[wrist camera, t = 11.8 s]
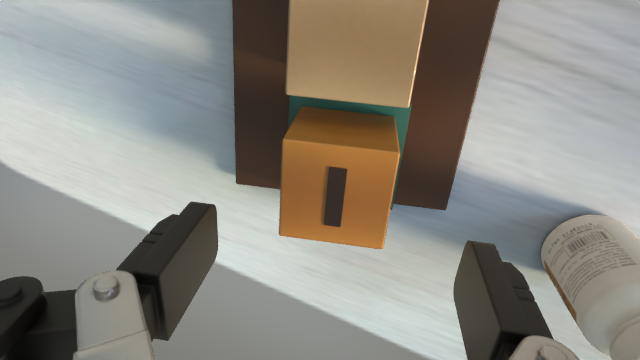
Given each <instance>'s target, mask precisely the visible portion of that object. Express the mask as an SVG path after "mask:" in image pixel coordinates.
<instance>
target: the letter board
mask: <svg viewBox="0 0 640 360" xmlns="http://www.w3.org/2000/svg"><path fill="white" fill-rule="evenodd" d="M499 1H500V0H232V8H233V57H234V106H235V155H236V183H237V184H243V185H251V186H258V187H266V188H274V189H281V164H282V140H283V138H284V136H285V135H286V133H287V131H288V129H289V128H290V126H291V124H292V122H293V121H294V119H295V117H296V115H297V114H298V112H299V110H300V108H301V107H302V106H304V107H313V108H322V109H331V110H340V111H349V112H358V113H367V114H376V115H385V116H394V117H395V121H396V128H397V135H398V142H399V149H400V158H399V164H398V169H397V175H396V180H395V186H394V191H393V197H392V202H391V208H390V210H392V208H393V204H400V205H408V206H416V207H423V208H431V209H439V210H446V208H447V204H448V200H449V196H450V192H451V188H452V184H453V180H454V176H455V173H456V169H457V165H458V161H459V157H460V153H461V149H462V145H463V141H464V138H465V134H466V130H467V126H468V122H469V118H470V114H471V110H472V106H473V102H474V99H475V95H476V91H477V87H478V83H479V79H480V75H481V71H482V67H483V64H484V60H485V56H486V52H487V48H488V44H489V40H490V36H491V32H492V29H493V25H494V21H495V17H496V13H497V9H498V5H499Z"/></svg>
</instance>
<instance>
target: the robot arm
mask: <svg viewBox="0 0 640 360" xmlns="http://www.w3.org/2000/svg"><path fill="white" fill-rule="evenodd" d="M217 251H218V231H217V212H216V207H215V205H213V204H206V203H199V202H190V203H189V204H188V205H187V206H186V207H185V209H184V210H183V211H182V212H181V213H180V215H175V214H172V215H170V216H169V217H167V218H165V219H163V220H162V221H160V222H158V223H157V225H156V226H155V227H154V228H153V229H152V230H151V231H150V234H148V235H147V236H146V237H145V238H144V239H143V240H142V242H140V243H139V245H138V246H137V247H136V248H135V249H134V250H133V251H132V252H131V253H130V255H129V256H128V257H127V258H126V259H125V260H124V261H123V262H122V263H121V265H120V266H119V267H118V268H117V269H116V270H112V271H106V272H102V273H99V274H96V275H94V276H92V277H90V278H88V279H87V280H85V281H84V282H83V283H82V284H81V285H80V286H79V287H78V289H76V290H66V291H55V292H44V290H43V286H42V284H41V282H40V281H39V280H38V279H36V278H33V277H27V276H26V277H25V276H22V277H14V278H9V279H6V280H3V281H0V360H156V359H155V355H154V351H153V347H152V341H153V339H160V340H166V341H168V340H169V338H170V337H171V335H172V333H173V332H174V330H175V328H176V326H177V324H178V323H179V321H180V320H181V318H182V316H183V315H184V313H185V311H186V309H187V308H188V306H189V304H190V303H191V301H192V299H193V297H194V296H195V294H196V292H197V291H198V289H199V287H200V285H201V284H202V282H203V280H204V278H205V277H206V275H207V273H208V272H209V270H210V268H211V266H212V265H213V263H214V261H215V258H216V255H217ZM534 300H535V299H534V297H533V295H532V293H531V291H529V286H528V284H527V282H526V280H525V278H524V276H523V274H522V273H521V272H520V271H519V270H518V269H517V268H516V267H514V266H513V265H512V264H511V263H509V262H502V260H501V258H500V255H499V253H498V251H497V248H496V246H495V245H494V244H491V243H484V242H476V241H467V243H466V245H465V247H464V251H463V254H462V257H461V261H460V264H459V267H458V271H457V274H456V277H455V282H454V301H455V306H456V310H457V315H458V319H459V323H460V328H461V332H462V337H463V341H464V346H465V350H466V354H467V359H468V360H579V358H578V357H577V356H576V355H575V354H574V353H573V352H572V351H571V350H570V349H568V348H567V347H566V346H564V345H563V344H561V343H559V342H557V341H555V340H554V339H553V337H552V335H551V333H550V330H549V328H548V326H547V324H546V322H545V320H544V318H543V316H542V314H541V311H540V309H539V307H538V305H537V303H536V302H535V301H534Z"/></svg>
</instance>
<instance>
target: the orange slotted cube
mask: <svg viewBox="0 0 640 360" xmlns="http://www.w3.org/2000/svg"><path fill="white" fill-rule="evenodd" d="M399 158H400V149H399V142H398V135H397V128H396V121H395V117H394V116H385V115H376V114H367V113H358V112H349V111H340V110H331V109H322V108H313V107H304V106H302V107H301V108H300V110H299V112H298V114H297V115H296V117H295V119H294V121H293V122H292V124H291V126H290V128H289V129H288V131H287V133H286V135H285V136H284V138H283V140H282V164H281V191H280V219H279V235H280V236H287V237H294V238H302V239H309V240H316V241H324V242H331V243H338V244H346V245H353V246H361V247H368V248H375V249H382V248H383V246H384V241H385V235H386V230H387V224H388V219H389V213H390V208H391V202H392V197H393V191H394V186H395V180H396V175H397V169H398V164H399Z"/></svg>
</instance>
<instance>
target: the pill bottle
mask: <svg viewBox="0 0 640 360" xmlns="http://www.w3.org/2000/svg"><path fill="white" fill-rule="evenodd" d="M541 260H542V264H543V266H544V268H545V270H546V272H547V273H548V275H549V277H550V279H551V281H552V282H553V284H554V286H555V288H556V289H557V291H558V293H559V294H560V296H561V298H562V300H563V301H564V303H565V305H566V307H567V308H568V310H569V312H570V313H571V315H572V317H573V318H574V320H575V322H576V324H577V325H578V327H579V328H580V330H581V332H582V333H583V335H584V336H585V338H586V339H587V340H588V342H589V343H590V344H591V345H592V346H594V347H595V348H596V349H598V350H599V351H601V352H603V353H605V354H607V355H609V356H611V358H612V360H640V239H639V238H638V237H637V236H636V235H635V234H634V233H633V232H632V231H630V230H629V229H628V228H627V227H626V226H625V225H624V224H623V223H622V222H620V221H618V220H616V219H614V218H611V217H608V216H603V215H584V216H579V217H576V218H572V219H570V220H568V221H565V222H563V223H562V224H560V225H559V226H557V227H556V228H555V229H554V230H553V231H552V232H551V233H550V234H549V235H548V236H547V238H546V239H545V241H544V243H543V246H542V250H541Z"/></svg>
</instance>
